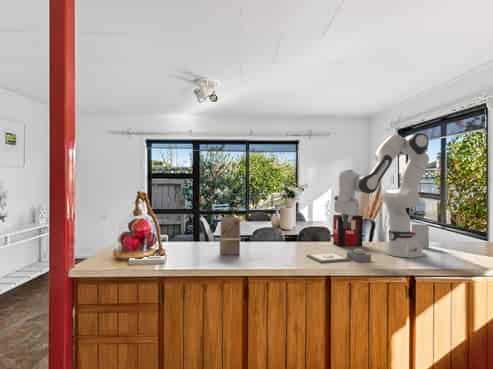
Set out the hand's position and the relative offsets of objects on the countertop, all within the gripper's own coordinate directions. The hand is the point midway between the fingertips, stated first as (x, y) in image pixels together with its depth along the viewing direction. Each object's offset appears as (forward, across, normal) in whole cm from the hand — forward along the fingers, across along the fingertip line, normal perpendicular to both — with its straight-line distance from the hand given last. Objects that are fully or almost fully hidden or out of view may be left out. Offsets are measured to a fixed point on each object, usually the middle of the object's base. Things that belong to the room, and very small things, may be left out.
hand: (346, 221), depth 201 cm
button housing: (+20, -12, +1) cm, 23 cm away
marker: (+4, 0, 0) cm, 4 cm away
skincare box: (+21, +6, -59) cm, 63 cm away
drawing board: (+19, -5, +16) cm, 25 cm away
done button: (+17, -12, +1) cm, 21 cm away
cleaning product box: (+20, +26, -18) cm, 37 cm away
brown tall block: (+19, +20, +65) cm, 71 cm away
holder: (+18, +34, +108) cm, 114 cm away
